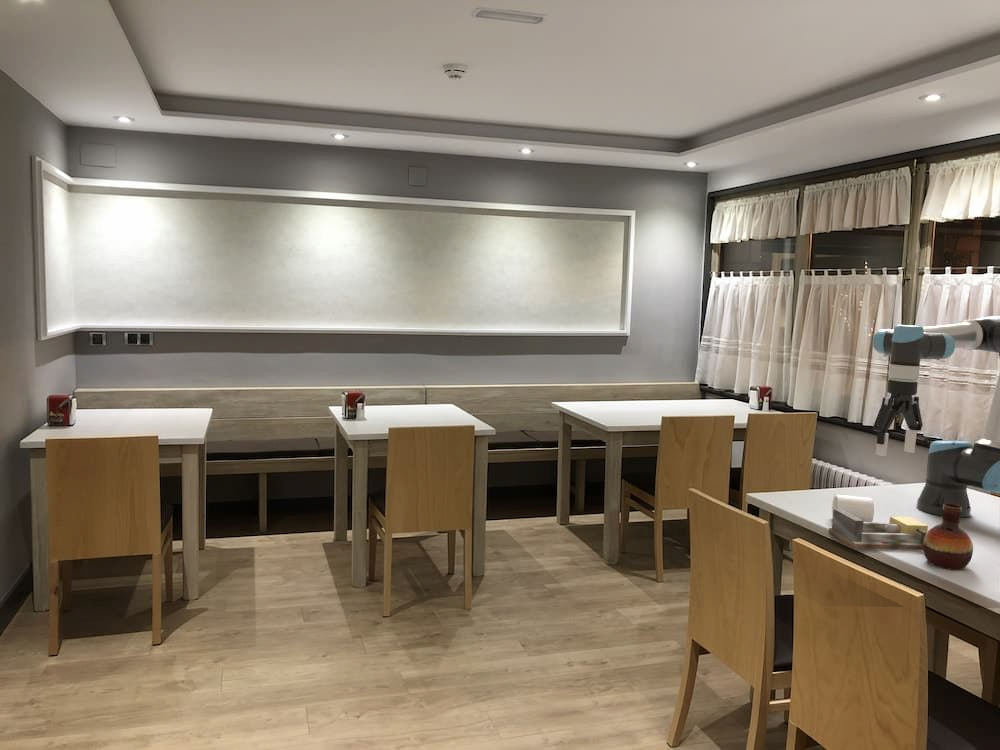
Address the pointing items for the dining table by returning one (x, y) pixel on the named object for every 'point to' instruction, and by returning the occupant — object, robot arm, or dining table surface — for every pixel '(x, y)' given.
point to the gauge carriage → (906, 526)
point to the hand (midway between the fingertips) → (895, 453)
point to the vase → (948, 541)
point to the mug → (855, 506)
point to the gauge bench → (870, 533)
